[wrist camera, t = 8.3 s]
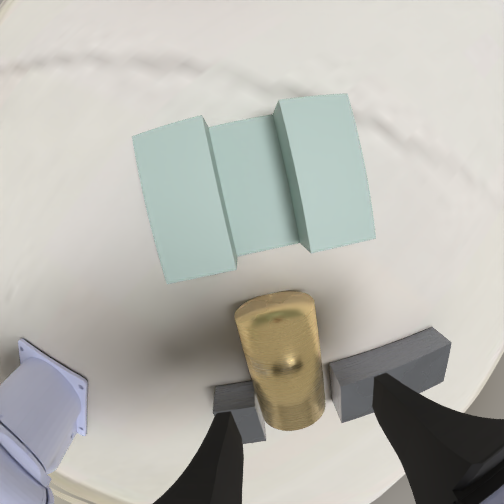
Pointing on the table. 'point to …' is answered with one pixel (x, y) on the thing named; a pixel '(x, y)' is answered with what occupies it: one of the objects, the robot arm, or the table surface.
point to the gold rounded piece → (283, 357)
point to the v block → (254, 185)
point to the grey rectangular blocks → (350, 381)
